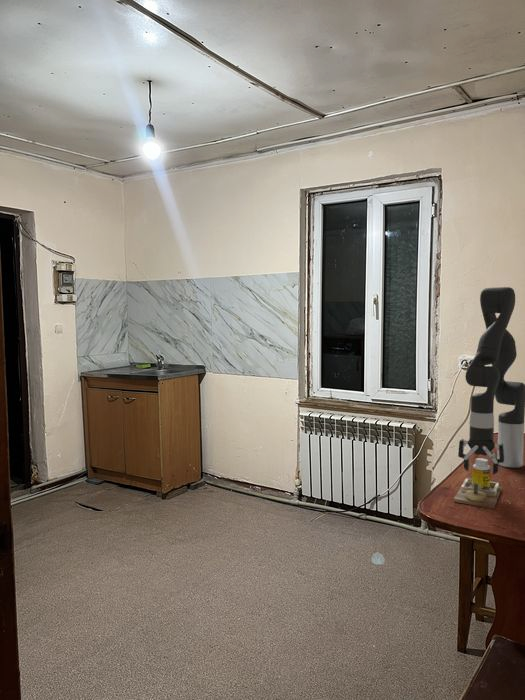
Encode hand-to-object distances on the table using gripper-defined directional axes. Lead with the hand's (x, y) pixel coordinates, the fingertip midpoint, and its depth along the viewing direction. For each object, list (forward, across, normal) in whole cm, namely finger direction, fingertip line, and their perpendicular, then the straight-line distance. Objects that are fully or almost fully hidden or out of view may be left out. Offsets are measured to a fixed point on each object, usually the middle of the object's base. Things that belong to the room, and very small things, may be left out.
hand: (480, 471), depth 177 cm
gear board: (+7, 0, +4) cm, 8 cm away
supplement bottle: (+6, 0, 0) cm, 6 cm away
